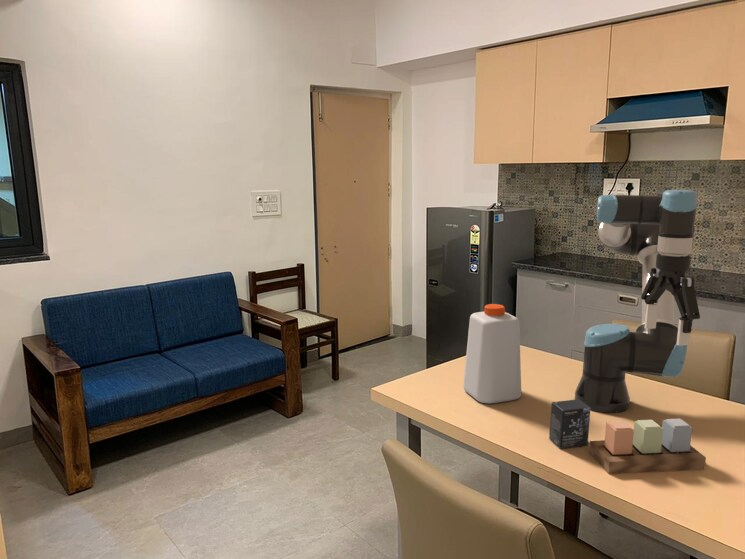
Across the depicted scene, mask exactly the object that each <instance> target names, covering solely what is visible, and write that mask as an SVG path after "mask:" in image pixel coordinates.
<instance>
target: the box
mask: <svg viewBox="0 0 745 559" xmlns="http://www.w3.org/2000/svg"><path fill="white" fill-rule="evenodd" d="M590 409H591V408H590V407H589V406H587V405H586V404H585V403H583V402H582V401H580V400H579V399H575V398H574V399H567V400H560V401H551V409H550V423H549V424H550V425H549V433H548V434H549V436H548V440H550V441H551V442H552V443H553V444H554V445H555V446H556V447H557V448H558V449H559V450H563V449H570V448H576V447H587V446H588V443H589V433H590V432H589V430H590V422H591V421H590V419H591V410H590Z"/></svg>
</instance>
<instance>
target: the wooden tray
mask: <svg viewBox="0 0 745 559" xmlns="http://www.w3.org/2000/svg"><path fill="white" fill-rule="evenodd" d="M604 442H605V439H604V440H590V441H589V454H590V455H591V456H592V457H593V458H594V459H595V460H596V461H597V463H598V464H599V465H600V466H601V467H602V468H603V469H604V471H605V472H606V473H607V475H608V474H609V475H612V474H615V475H616V474H632V473H633V474H634V473H635V474H636V473H649V472H650V473H651V472H652V473H655V472H676V471H693V470H694V471H697V470H705V468H706V461H707V457H706V456H705V455H703V454H702V453H701V452H700V451H698V450H697V449H696V448H695V447H693V446H692V444H690V451H683V452H671V451H669V450H668V449H667V448H666V447H665V446H664V445H663V444H662V445H661V453H641V452H640V451H639V450H638V449H637V448H636V447H635V446H634V445H632V454H616V455H613V454H612V453H611V452H610V451H609V450H608V449H607V448H606V447H605V446H604Z"/></svg>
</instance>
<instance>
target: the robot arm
mask: <svg viewBox="0 0 745 559" xmlns="http://www.w3.org/2000/svg"><path fill="white" fill-rule="evenodd" d="M596 205H597V207H596V221H597V222H598V223H600V225H599V228H598V231H597V235H598V236H597V237H598V240H599V242H600V243H601V245H603V246H604V247H605V248H606V249H608V250H609V251H611V252H614V253H617V254H620V255H625V256H637V260H638V262H639V263H640V264H641V265H642V278H641V279H642V282H641V286H642V287H641V290H642V291H641V292H642V293H641V296H640V297H641V324H639V325H638V326H637V327H636V329H635V331H631V330H630V328H629V327H628V326H627V325H624V324H619V323H602V324H597V325H593V326H591V327H589V328H588V329H587V330H586V332H585V338H584V342H583V345H584V352H583V363H582V364H583V365H582V375H581V377H580V380H579V382H578V384H577V386H576V389H575V392H574V400H575V399H579V400H580V401H582V402H583V403H585V404H586V405H587V406H589V407H590V408H591V409H590V411H594V412H600V413H608V414H609V413H610V414H612V413H613V414H614V413H621V412H624V411H625V412H626V411H627V410H628V409H629V408H630V404H631V403H630V402H631V397H630V395H629V389H628V388H627V387H628V386H627V383H626V374H627V373H631V374H639V375H646V376H655V377H661V378H662V377H663V378H664V377H665V378H666V377H670V378H677V377H680V375H681V374H682V373H683V369H684V365H685V361H686V356H687V355H686V354H687V350H688V346H689V345H690V340H691V338H690V337H691V334H692V333H691V332H692V329H693V328H692V327H693V321H694V320H699V319H700V318H701V314H700V309H699V304H698V300H697V299H698V298H697V294H696V290H695V278H694V277H686V272H687V271H689V270H690V268H691V262H692V261H691V259H692V257H691V255H690V254H691V253H692V248H693V240H694V239H693V238H694V229H695V221H696V213H697V207H698V193H697V192H696V191H695V190H692V189H667V190H664V192H663V193H662V195H656V194H655V195H651V194H650V195H647V194H646V195H645V194H642V195H635V194H613V193H611V194H602V195H599V196H598V197H597V204H596ZM675 302H676V305H677V308H678V311H679V313H680V317H679V319H678V326H677V325H675Z"/></svg>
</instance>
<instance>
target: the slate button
mask: <svg viewBox="0 0 745 559" xmlns="http://www.w3.org/2000/svg"><path fill="white" fill-rule="evenodd" d="M661 428H663V435H662V444H663V445H664V446H665V447H666V448H667V449H668V450H669V451H671V452H683V451H690V445H691V444H692V443H691V441H692V433H693V427H692V426H691V425H689V423H687V422H686V421H684V420H683V419H682V418H667V419H663V420H662V425H661Z"/></svg>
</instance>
